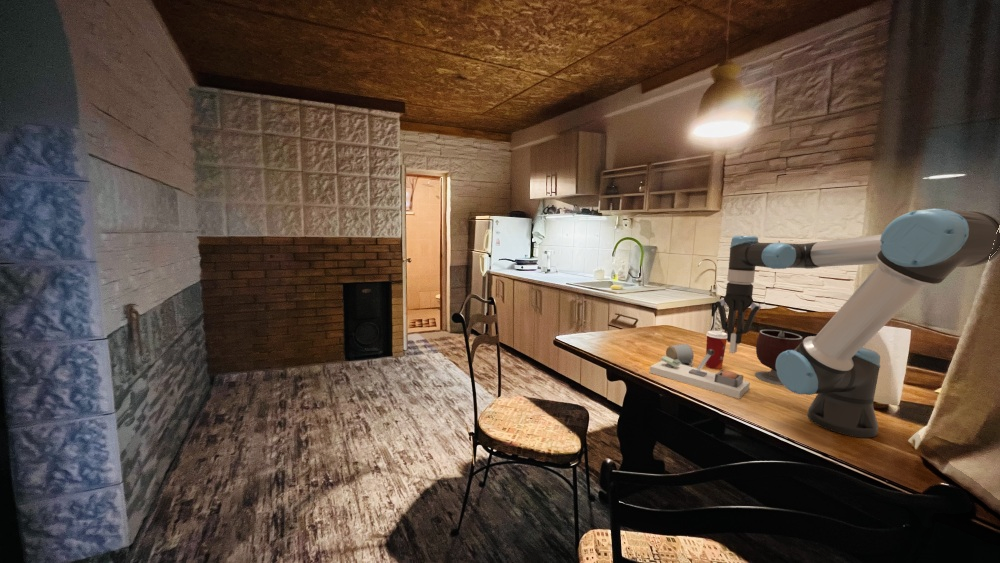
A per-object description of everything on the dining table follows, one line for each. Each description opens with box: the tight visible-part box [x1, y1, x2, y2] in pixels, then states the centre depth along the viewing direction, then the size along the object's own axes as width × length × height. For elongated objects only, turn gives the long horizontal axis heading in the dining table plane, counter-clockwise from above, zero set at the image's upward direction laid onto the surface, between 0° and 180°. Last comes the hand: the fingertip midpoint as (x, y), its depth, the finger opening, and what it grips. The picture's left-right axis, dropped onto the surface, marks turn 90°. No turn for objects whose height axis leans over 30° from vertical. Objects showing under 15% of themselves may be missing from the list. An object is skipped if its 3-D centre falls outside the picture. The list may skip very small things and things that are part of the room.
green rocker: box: [660, 355, 680, 367], centre depth 150 cm, size 6×4×2 cm, turn 45°
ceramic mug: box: [665, 343, 694, 367], centre depth 161 cm, size 11×8×8 cm
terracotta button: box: [722, 370, 738, 379], centre depth 136 cm, size 4×4×2 cm
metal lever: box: [696, 349, 714, 371], centre depth 141 cm, size 2×2×9 cm
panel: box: [649, 360, 751, 400], centre depth 143 cm, size 30×12×5 cm, turn 45°
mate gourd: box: [754, 329, 803, 386], centre depth 146 cm, size 16×14×20 cm
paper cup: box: [705, 330, 728, 370], centre depth 158 cm, size 8×8×14 cm
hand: (732, 352), depth 134 cm, fingers closed
